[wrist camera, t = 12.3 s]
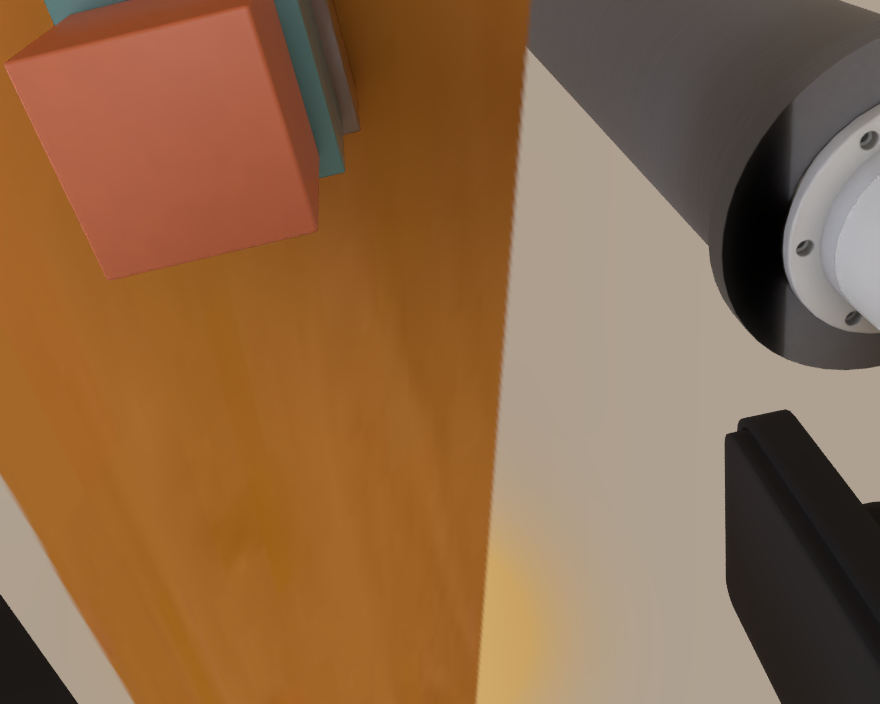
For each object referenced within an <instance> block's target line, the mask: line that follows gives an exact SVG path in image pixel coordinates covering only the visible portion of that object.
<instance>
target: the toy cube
mask: <svg viewBox="0 0 880 704" xmlns="http://www.w3.org/2000/svg"><path fill="white" fill-rule="evenodd" d="M5 68H6V71H7V73H8V75H9V77H10V79H11V81H12V83H13V85H14V87H15V89H16V91H17V93H18V95H19V98H20V100H21V102H22V104H23V106H24V108H25V110H26V112H27V114H28V116H29V118H30V120H31V123H32V125H33V127H34V129H35V131H36V133H37V135H38V137H39V139H40V141H41V143H42V145H43V147H44V150H45V152H46V154H47V156H48V158H49V160H50V162H51V164H52V166H53V168H54V170H55V172H56V174H57V177H58V179H59V181H60V183H61V185H62V187H63V189H64V191H65V193H66V195H67V197H68V199H69V202H70V204H71V206H72V208H73V210H74V212H75V214H76V216H77V218H78V220H79V222H80V224H81V226H82V229H83V231H84V233H85V235H86V237H87V239H88V241H89V243H90V245H91V247H92V249H93V251H94V253H95V256H96V258H97V260H98V262H99V264H100V266H101V268H102V270H103V272H104V274H105V276H106V278H107V279H108V280H114V279H118V278H123V277H127V276H131V275H135V274H139V273H144V272H148V271H152V270H156V269H161V268H165V267H169V266H173V265H178V264H182V263H186V262H190V261H195V260H199V259H203V258H207V257H212V256H216V255H220V254H224V253H228V252H233V251H237V250H241V249H245V248H250V247H254V246H258V245H262V244H267V243H271V242H275V241H279V240H284V239H288V238H292V237H296V236H301V235H305V234H309V233H313V232H316V231H317V230H318V204H319V154H318V150H317V147H316V143H315V140H314V137H313V133H312V130H311V126H310V123H309V119H308V116H307V113H306V109H305V106H304V102H303V99H302V96H301V92H300V89H299V85H298V82H297V78H296V75H295V72H294V68H293V65H292V61H291V58H290V54H289V51H288V48H287V44H286V41H285V37H284V34H283V31H282V27H281V24H280V20H279V17H278V13H277V10H276V7H275V3H274V0H129V1H125V2H120V3H116V4H112V5H108V6H104V7H100V8H95V9H91V10H87V11H83V12H79V13H75V14H70V15H69V16H68V17H66V18H65V19H64V20H62V21H61V22H59V23H58V24H57V25H55V26H54V27H53V28H51V29H50V30H49V31H47V32H46V33H45V34H43V35H42V36H40V37H39V38H38V39H36V40H35V41H34V42H32V43H31V44H30V45H28V46H27V47H26V48H24V49H23V50H21V51H20V52H19V53H17V54H16V55H15V56H13V57H12V58H11V59H9V60H8V61H7V62H5Z"/></svg>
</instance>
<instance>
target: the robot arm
mask: <svg viewBox="0 0 880 704" xmlns="http://www.w3.org/2000/svg"><path fill="white" fill-rule="evenodd" d="M780 251H781V259H782V266H783V271H784V274H785V276H786V279H787V281H788V284H789V287H790V288H791V290H792V291H793V292H794V294H795V295H796V297H797V298H798V299H799V301H800V302H801V303H802V304H803V305H804V306H805V307H806V308H807V309H808V310H810V311H811V312H812V313H813V314H814V315H815V316H816V317H818V318H819V319H821V320H822V321H824V322H826V323H827V324H829V325H831V326H833V327H836V328H839V329H842V330H845V331H849V332H858V333H868V334H871V333H880V104H878V105H877V106H875V107H873V108H872V109H870V110H869V111H867V112H865V113H864V114H862V115H860V116H859V117H857V118H856V119H855V120H854V121H852V122H851V123H850V124H849V125H848V126H846V127H845V128H844V129H843V130H842V131H840V132H839V133H838V134H837V135H836V136H834V137H833V139H832V140H831V141H830V142H829V143H828V144H827V145H826V146H825V147H824V148H823V150H822V151H821V152H820V153H819V154H818V155H817V156H816V157H815V159H814V160H813V162H812V163H811V165H810V166H809V168H808V169H807V171H806V172H805V174H804V175H803V176H802V178H801V179H800V181H799V183H798V185H797V187H796V190H795V192H794V194H793V196H792V198H791V200H790V202H789V204H788V208H787V212H786V215H785V219H784V222H783V226H782V235H781V247H780ZM725 525H726V527H725V529H726V584H727V589H728V593H729V596H730V599H731V602H732V605H733V607H734V609H735V611H736V613H737V615H738V617H739V619H740V622H741V624H742V626H743V627H744V629H745V632H746V634H747V636H748V638H749V640H750V642H751V643H752V646H753V648H754V650H755V652H756V654H757V656H758V658H759V660H760V662H761V664H762V666H763V668H764V670H765V672H766V674H767V676H768V678H769V680H770V682H771V684H772V686H773V688H774V690H775V692H776V694H777V696H778V698H779V700H780V702H781V704H880V502H871V503H866V504H862V503H861V502H860V501H859V499H858V498H857V497H856V495H855V494H854V493H853V491H852V490H851V489H850V487H849V486H848V485H847V484H846V482H845V481H844V480H843V478H842V477H841V476H840V474H839V473H838V472H837V470H836V469H835V468H834V467H833V465H832V464H831V463H830V461H829V460H828V459H827V458H826V456H825V455H824V453H823V452H822V451H821V450H820V448H819V447H818V446H817V444H816V443H815V442H814V440H813V439H812V438H811V436H810V435H809V434H808V433H807V431H806V430H805V429H804V427H803V426H802V425H801V423H800V422H799V421H798V420H797V418H796V417H795V416H794V415H793V414H792V413H791V412H790V411H788V410H786V409H785V410H780V411H776V412H771V413H766V414H762V415H757V416H752V417H747V418H743V419H741V420H740V421H739V423H738V429H737V432H734V433H729V434H726V437H725ZM0 704H78V703H77V702H76V700H75V699H74V697H73V696H72V694H71V693H70V692H69V690H68V689H67V687H66V686H65V685H64V683H63V682H62V681H61V679H60V678H59V676H58V675H57V673H56V672H55V671H54V669H53V668H52V666H51V665H50V664H49V662H48V661H47V659H46V658H45V657H44V655H43V654H42V653H41V651H40V649H39V648H38V647H37V645H36V644H35V642H34V641H33V640H32V638H31V637H30V635H29V634H28V633H27V631H26V630H25V628H24V627H23V626H22V624H21V623H20V621H19V620H18V619H17V617H16V616H15V615H14V613H13V611H12V610H11V609H10V607H9V606H8V605H7V603H6V602H5V600H4V599H3V597H2V596H1V595H0Z"/></svg>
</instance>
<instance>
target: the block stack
mask: <svg viewBox="0 0 880 704" xmlns="http://www.w3.org/2000/svg"><path fill="white" fill-rule="evenodd" d="M125 1H129V0H44V2H45V4H46V7H47V9H48V11H49V14H50V16H51V18H52V20H53V23H54V25H57V24H58V23H59V22H61V21H62V20H64V19H65V18H66V17H68V16H69V15H70V14H75V13H79V12H83V11H87V10H91V9H95V8H100V7H104V6H108V5H112V4H116V3H120V2H125ZM274 3H275V7H276V10H277V13H278V17H279V20H280V24H281V27H282V31H283V34H284V37H285V41H286V44H287V48H288V51H289V54H290V58H291V61H292V65H293V68H294V72H295V75H296V78H297V82H298V85H299V89H300V92H301V96H302V99H303V102H304V106H305V109H306V113H307V116H308V119H309V123H310V126H311V130H312V133H313V137H314V140H315V143H316V147H317V150H318V154H319V178H323V177H327V176H331V175H335V174H340V173H344V172H345V159H344V141H343V135H344V134H349V133H353V132H357V131H360V120H359V111H358V103H357V94H356V88H355V84H354V80H353V76H352V72H351V68H350V64H349V60H348V56H347V53H346V49H345V45H344V41H343V37H342V33H341V29H340V25H339V21H338V17H337V13H336V9H335V5H334V2H333V0H274Z"/></svg>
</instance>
